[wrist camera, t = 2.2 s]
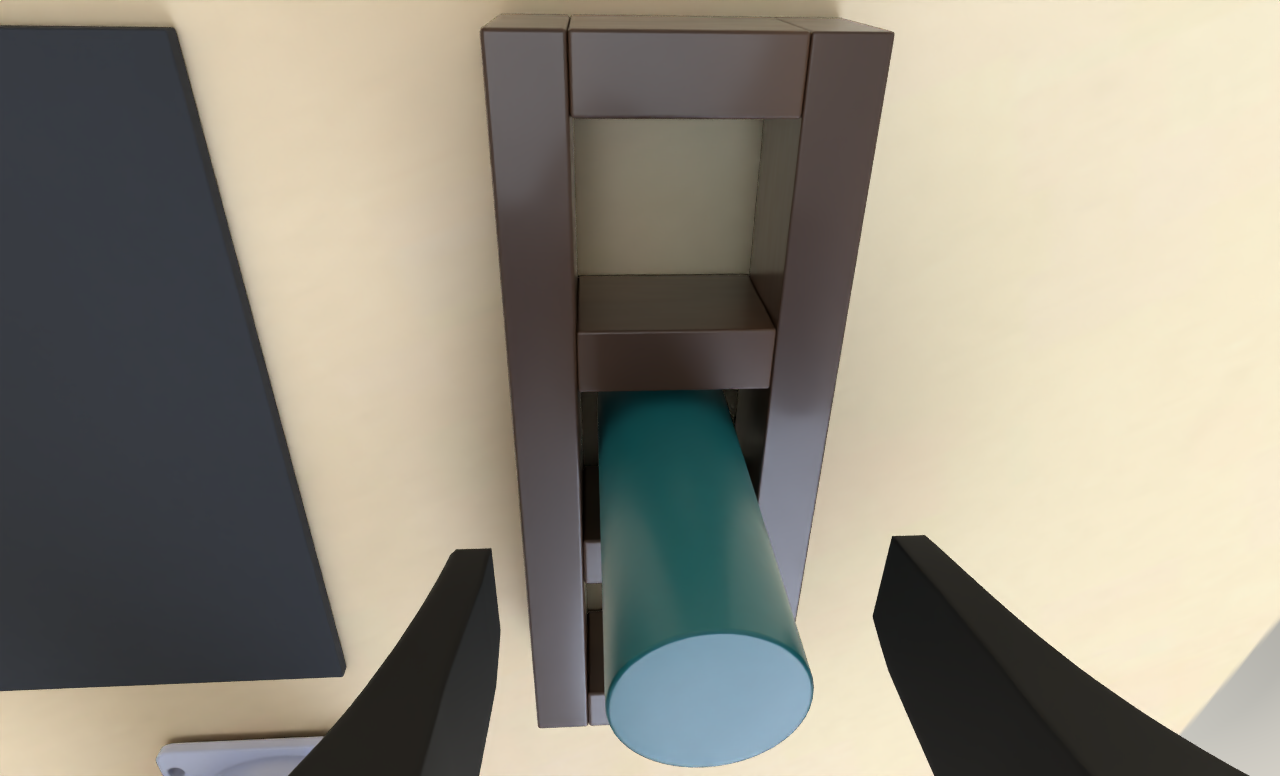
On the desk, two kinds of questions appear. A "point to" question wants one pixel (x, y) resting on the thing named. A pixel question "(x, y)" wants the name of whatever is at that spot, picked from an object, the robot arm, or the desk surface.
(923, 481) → the desk surface
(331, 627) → the mat
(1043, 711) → the robot arm
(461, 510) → the desk surface
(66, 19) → the desk surface
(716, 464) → the peg
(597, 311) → the rack
